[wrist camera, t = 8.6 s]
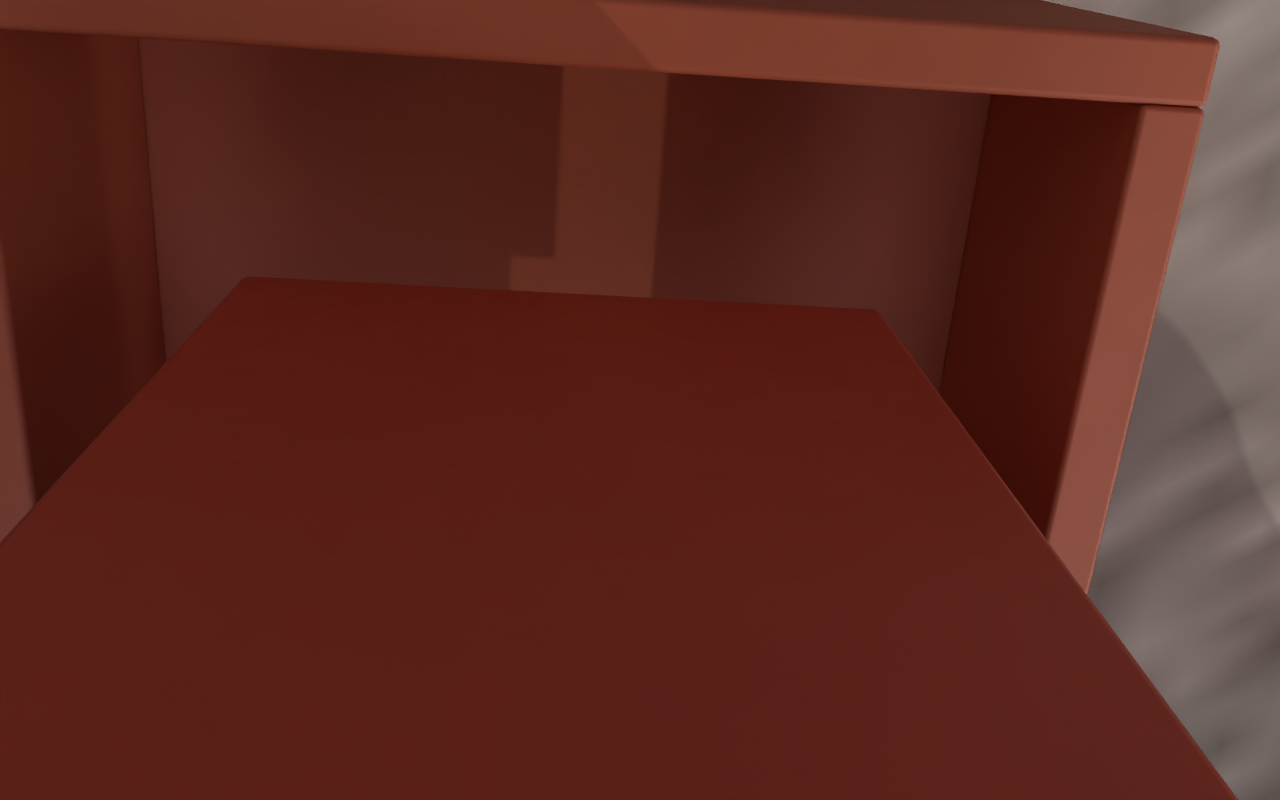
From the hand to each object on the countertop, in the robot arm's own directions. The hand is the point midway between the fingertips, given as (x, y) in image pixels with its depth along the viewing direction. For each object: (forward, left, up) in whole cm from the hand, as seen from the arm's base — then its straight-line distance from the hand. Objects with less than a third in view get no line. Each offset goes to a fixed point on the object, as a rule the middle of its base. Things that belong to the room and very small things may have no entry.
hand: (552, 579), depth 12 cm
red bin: (0, 0, -5) cm, 5 cm away
